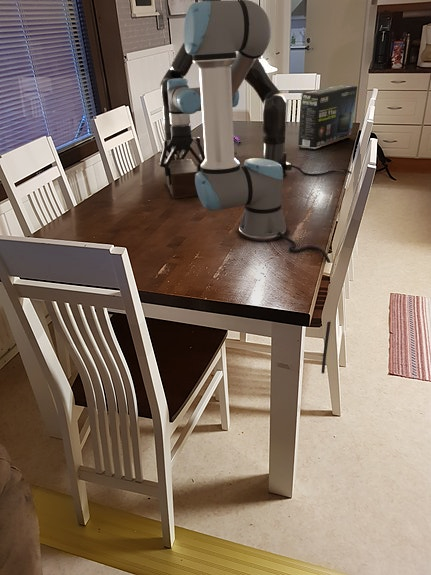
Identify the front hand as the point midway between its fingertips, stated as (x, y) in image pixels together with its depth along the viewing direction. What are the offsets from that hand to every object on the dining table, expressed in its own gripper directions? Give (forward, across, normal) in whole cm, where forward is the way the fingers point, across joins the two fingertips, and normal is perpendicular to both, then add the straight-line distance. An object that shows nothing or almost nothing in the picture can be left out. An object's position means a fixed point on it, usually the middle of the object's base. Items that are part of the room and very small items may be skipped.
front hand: (184, 182), depth 181 cm
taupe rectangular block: (+5, 0, -6) cm, 8 cm away
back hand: (+2, 0, -22) cm, 22 cm away
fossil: (+5, -24, -44) cm, 50 cm away
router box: (+5, -85, -55) cm, 102 cm away
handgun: (+5, -40, -81) cm, 90 cm away
